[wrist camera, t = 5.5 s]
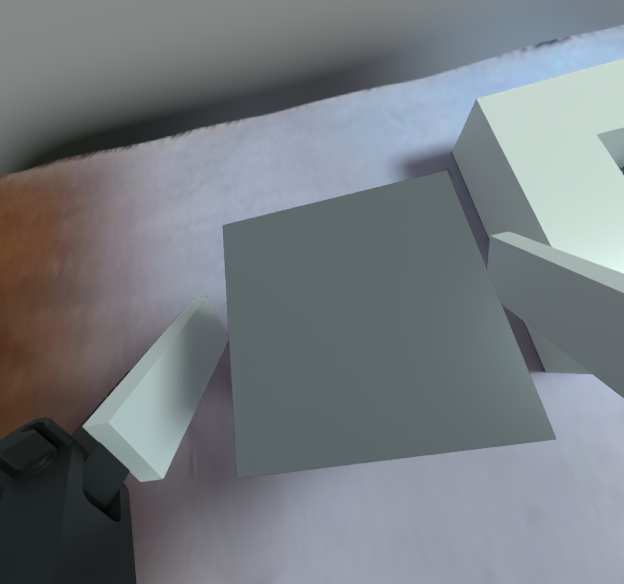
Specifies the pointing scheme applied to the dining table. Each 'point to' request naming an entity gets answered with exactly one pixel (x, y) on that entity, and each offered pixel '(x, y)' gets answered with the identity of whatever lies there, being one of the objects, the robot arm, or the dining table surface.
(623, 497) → the dining table surface
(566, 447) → the dining table surface
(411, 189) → the grey block
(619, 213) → the socket block
